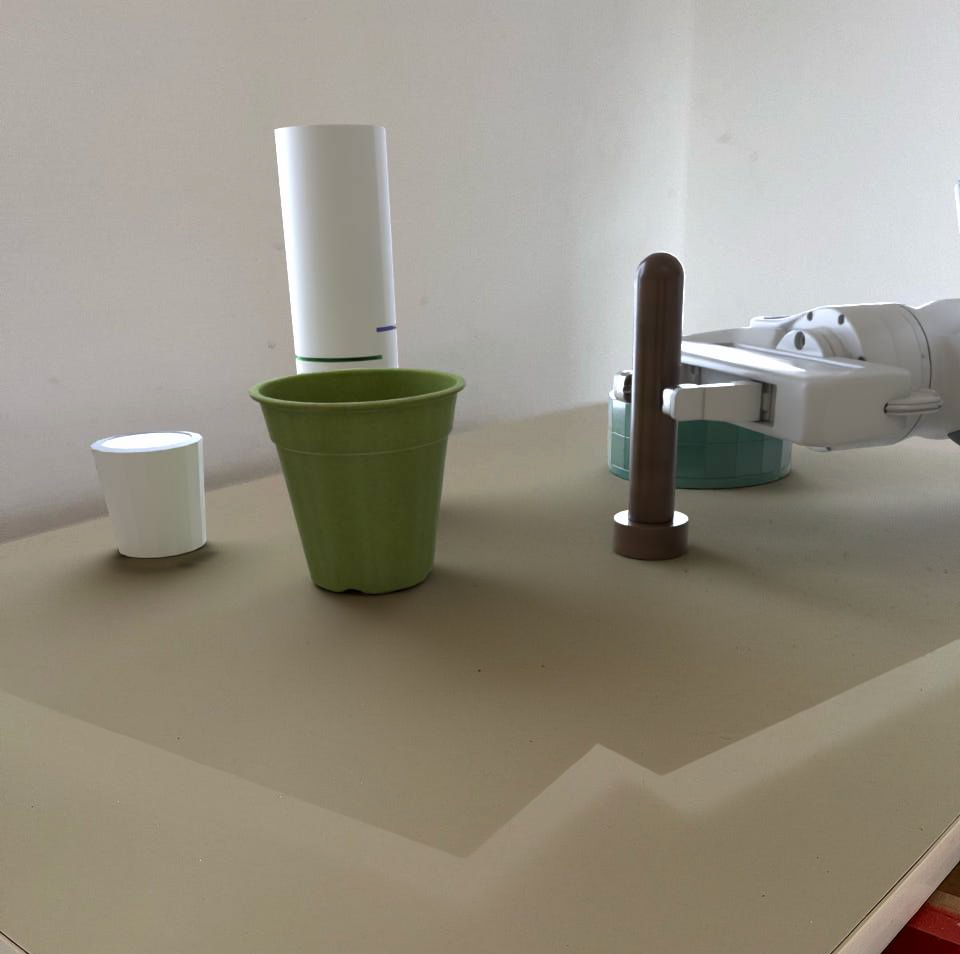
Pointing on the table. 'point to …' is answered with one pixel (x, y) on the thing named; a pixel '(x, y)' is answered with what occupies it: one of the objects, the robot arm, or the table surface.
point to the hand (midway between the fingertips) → (642, 395)
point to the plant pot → (363, 469)
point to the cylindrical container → (338, 245)
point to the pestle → (654, 415)
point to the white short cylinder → (153, 491)
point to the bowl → (705, 452)
